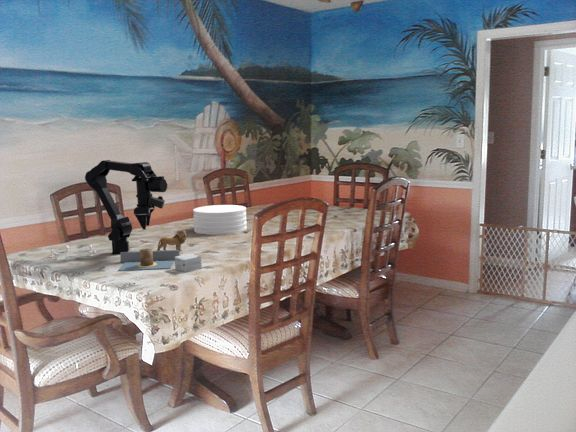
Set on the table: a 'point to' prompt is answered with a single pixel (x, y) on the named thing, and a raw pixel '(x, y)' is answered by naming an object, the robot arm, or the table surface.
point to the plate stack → (220, 219)
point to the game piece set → (68, 250)
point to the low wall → (156, 255)
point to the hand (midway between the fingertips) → (146, 227)
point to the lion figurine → (173, 240)
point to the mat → (137, 266)
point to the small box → (188, 262)
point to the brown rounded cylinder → (146, 257)
